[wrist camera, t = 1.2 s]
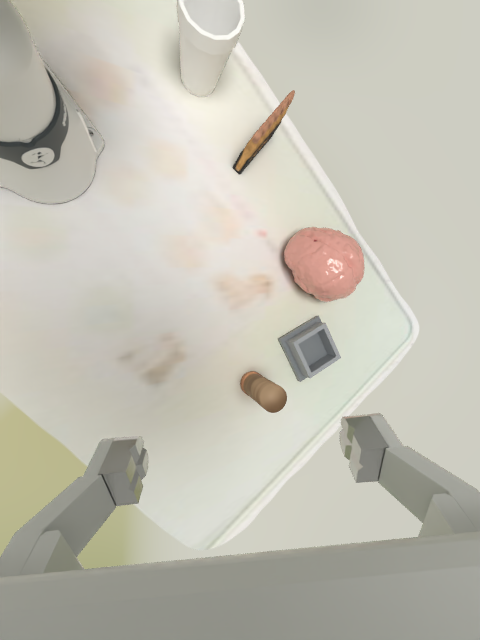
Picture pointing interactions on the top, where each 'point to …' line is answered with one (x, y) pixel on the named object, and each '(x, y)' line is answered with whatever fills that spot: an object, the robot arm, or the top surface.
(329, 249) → the brain
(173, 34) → the top surface
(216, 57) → the foam cup
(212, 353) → the top surface
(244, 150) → the ammunition clip
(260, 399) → the brown rounded peg
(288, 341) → the socket block
